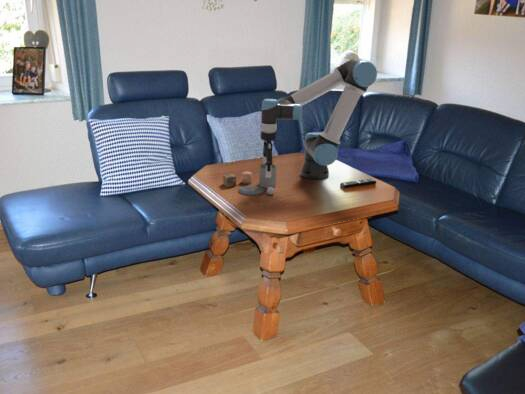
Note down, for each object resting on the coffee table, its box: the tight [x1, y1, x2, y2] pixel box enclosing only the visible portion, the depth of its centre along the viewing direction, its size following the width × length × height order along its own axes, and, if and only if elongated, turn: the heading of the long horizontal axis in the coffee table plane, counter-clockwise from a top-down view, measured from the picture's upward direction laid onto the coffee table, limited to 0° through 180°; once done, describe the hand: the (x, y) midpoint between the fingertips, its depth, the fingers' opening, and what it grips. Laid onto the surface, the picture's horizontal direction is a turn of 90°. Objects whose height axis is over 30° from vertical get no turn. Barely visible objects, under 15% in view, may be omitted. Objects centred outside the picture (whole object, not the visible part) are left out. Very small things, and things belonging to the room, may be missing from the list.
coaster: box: [238, 185, 264, 196], centre depth 249 cm, size 12×12×1 cm
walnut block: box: [222, 173, 237, 188], centre depth 257 cm, size 5×5×5 cm
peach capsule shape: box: [241, 171, 253, 185], centre depth 261 cm, size 5×5×5 cm
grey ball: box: [266, 187, 275, 196], centre depth 245 cm, size 4×4×4 cm
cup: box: [258, 163, 277, 189], centre depth 257 cm, size 8×8×10 cm
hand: (266, 173), depth 256 cm, fingers open, 13 cm apart
